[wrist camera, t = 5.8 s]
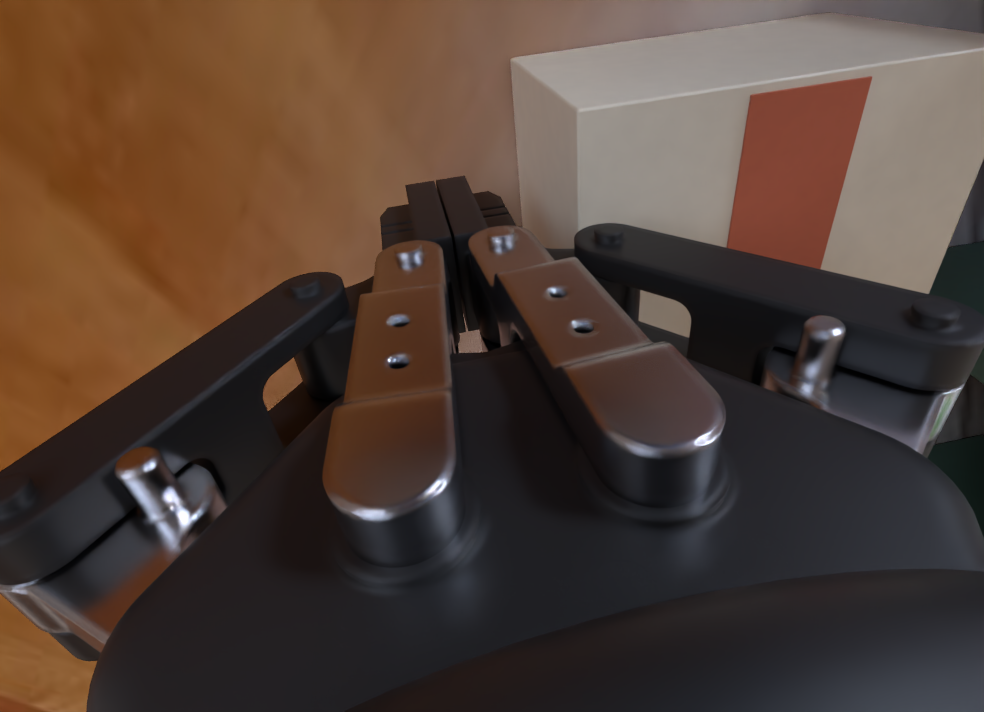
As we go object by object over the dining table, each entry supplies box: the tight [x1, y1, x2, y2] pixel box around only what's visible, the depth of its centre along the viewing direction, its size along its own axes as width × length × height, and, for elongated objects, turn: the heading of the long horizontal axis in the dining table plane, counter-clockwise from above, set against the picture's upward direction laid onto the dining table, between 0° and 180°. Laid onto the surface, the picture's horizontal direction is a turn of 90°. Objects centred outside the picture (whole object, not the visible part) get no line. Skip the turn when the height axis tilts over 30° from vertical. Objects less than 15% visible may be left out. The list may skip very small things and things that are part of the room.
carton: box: [510, 12, 984, 338], centre depth 15 cm, size 6×9×6 cm
